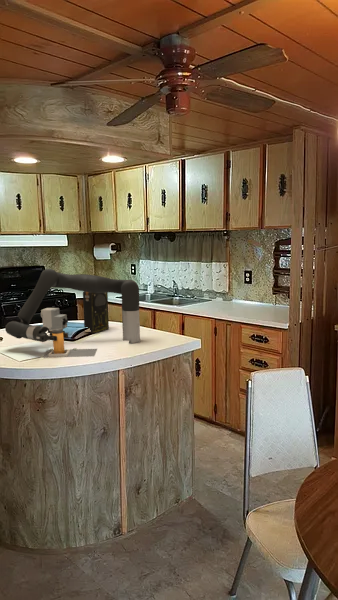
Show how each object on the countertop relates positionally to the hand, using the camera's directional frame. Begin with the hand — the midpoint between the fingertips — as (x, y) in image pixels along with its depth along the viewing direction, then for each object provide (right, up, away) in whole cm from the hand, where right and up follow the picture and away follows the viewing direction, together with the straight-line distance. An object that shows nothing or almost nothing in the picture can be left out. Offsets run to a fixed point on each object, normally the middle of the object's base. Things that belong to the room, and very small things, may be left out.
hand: (62, 337), depth 218 cm
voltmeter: (+7, -1, +60) cm, 60 cm away
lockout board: (+3, -10, +5) cm, 11 cm away
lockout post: (-2, -8, +3) cm, 9 cm away
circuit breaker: (-16, -3, +53) cm, 55 cm away
